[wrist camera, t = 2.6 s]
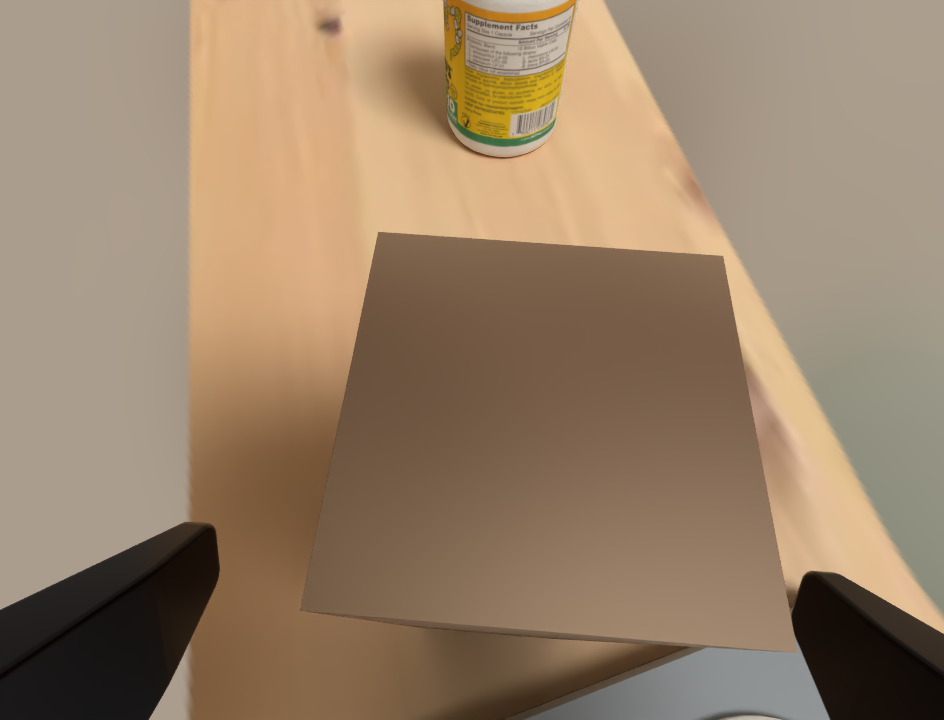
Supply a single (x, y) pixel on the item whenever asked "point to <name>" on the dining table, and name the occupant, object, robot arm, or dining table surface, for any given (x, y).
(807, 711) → the panel
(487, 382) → the post
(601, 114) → the dining table surface
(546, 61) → the supplement bottle
